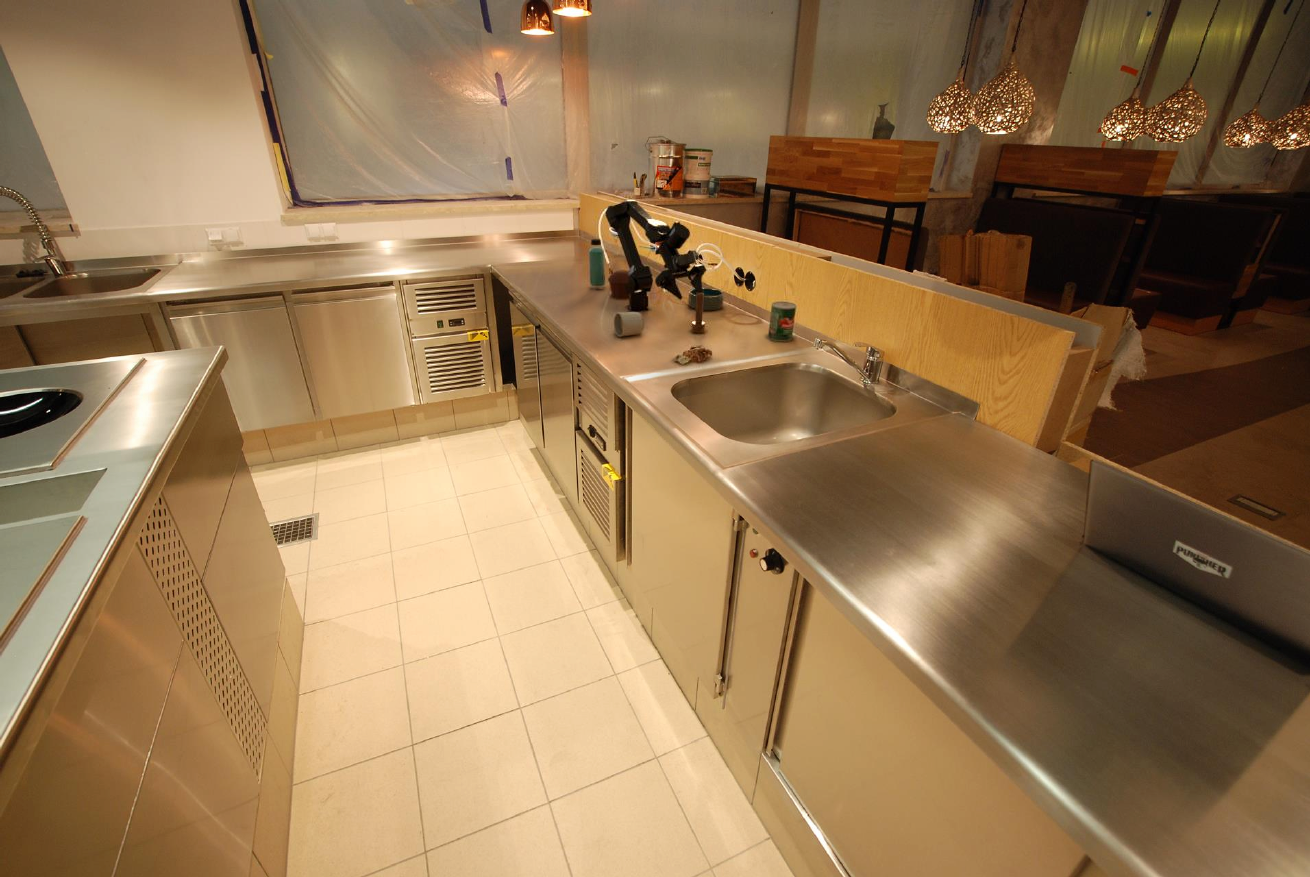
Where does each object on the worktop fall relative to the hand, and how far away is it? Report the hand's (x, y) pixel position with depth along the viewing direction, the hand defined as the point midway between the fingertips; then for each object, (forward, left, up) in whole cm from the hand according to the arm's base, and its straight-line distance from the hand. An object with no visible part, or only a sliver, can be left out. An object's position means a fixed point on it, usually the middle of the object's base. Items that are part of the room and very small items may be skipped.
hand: (691, 296), depth 191 cm
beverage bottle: (-19, +62, -11) cm, 66 cm away
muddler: (+1, -4, -11) cm, 12 cm away
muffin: (-12, +47, -11) cm, 50 cm away
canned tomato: (+25, -17, -11) cm, 32 cm away
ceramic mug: (-23, 0, -11) cm, 25 cm away
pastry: (-10, -28, -11) cm, 31 cm away
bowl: (+15, +24, -11) cm, 31 cm away
